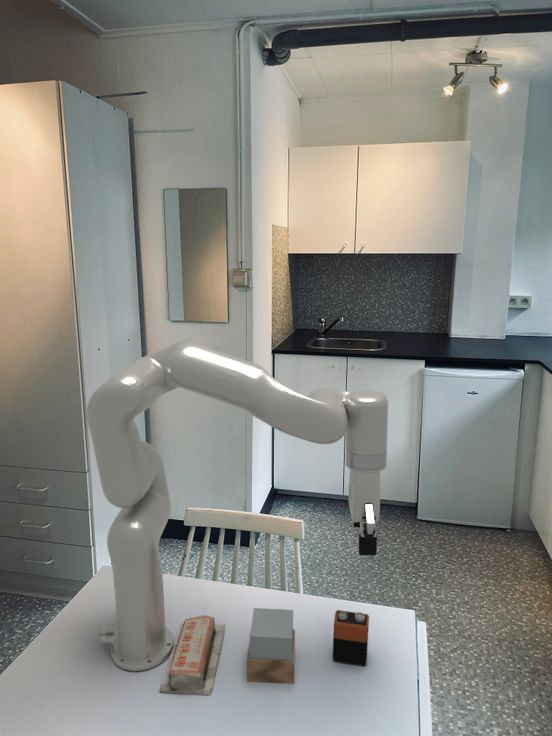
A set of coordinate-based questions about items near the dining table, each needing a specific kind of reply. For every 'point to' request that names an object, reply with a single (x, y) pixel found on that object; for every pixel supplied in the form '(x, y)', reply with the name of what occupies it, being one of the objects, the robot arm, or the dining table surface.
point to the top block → (271, 634)
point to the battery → (350, 637)
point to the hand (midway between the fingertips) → (364, 540)
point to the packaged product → (194, 657)
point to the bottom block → (271, 669)
